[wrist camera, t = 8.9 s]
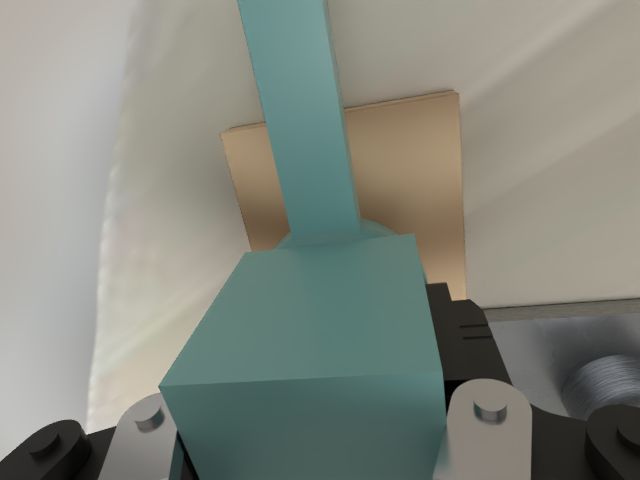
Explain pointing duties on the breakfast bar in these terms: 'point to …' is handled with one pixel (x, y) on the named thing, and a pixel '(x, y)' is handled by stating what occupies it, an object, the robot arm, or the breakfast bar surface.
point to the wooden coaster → (375, 179)
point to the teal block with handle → (312, 303)
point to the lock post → (571, 354)
